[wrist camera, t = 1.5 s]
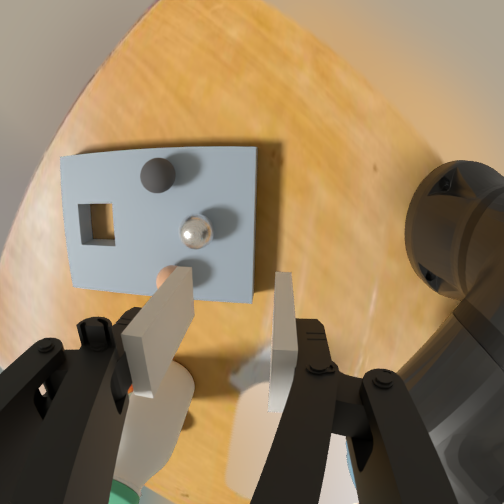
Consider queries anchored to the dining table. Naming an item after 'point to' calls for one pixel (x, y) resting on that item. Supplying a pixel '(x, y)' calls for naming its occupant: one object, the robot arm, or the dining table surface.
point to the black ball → (157, 175)
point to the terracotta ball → (164, 274)
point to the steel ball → (196, 231)
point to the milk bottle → (150, 433)
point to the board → (163, 220)
